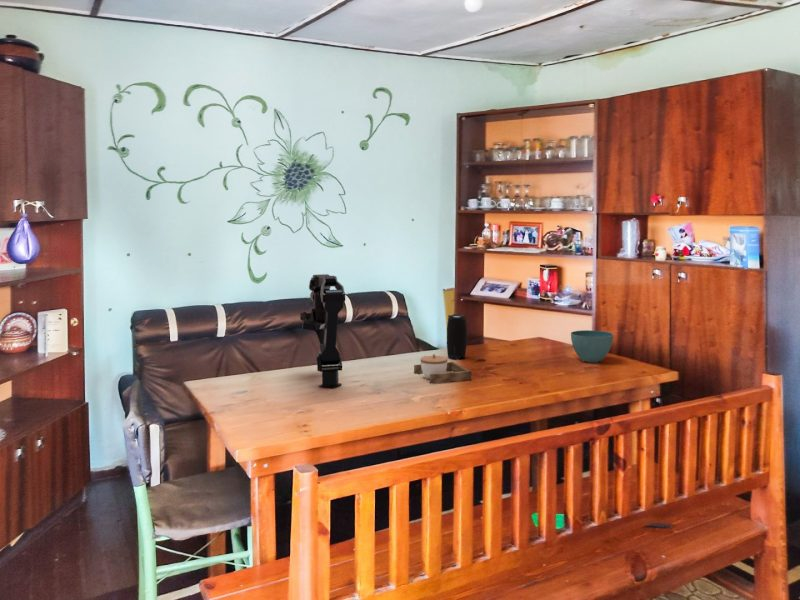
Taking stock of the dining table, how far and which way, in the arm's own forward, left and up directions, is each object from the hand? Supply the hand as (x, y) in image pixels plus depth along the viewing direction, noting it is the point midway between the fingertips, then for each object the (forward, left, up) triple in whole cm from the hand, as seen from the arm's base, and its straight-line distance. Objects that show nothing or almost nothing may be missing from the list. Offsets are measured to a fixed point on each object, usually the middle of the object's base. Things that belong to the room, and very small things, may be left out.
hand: (322, 344), depth 287 cm
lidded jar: (+19, -40, -13) cm, 47 cm away
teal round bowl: (+81, -88, -13) cm, 120 cm away
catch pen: (+22, -42, -13) cm, 49 cm away
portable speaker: (+58, -33, -13) cm, 68 cm away
